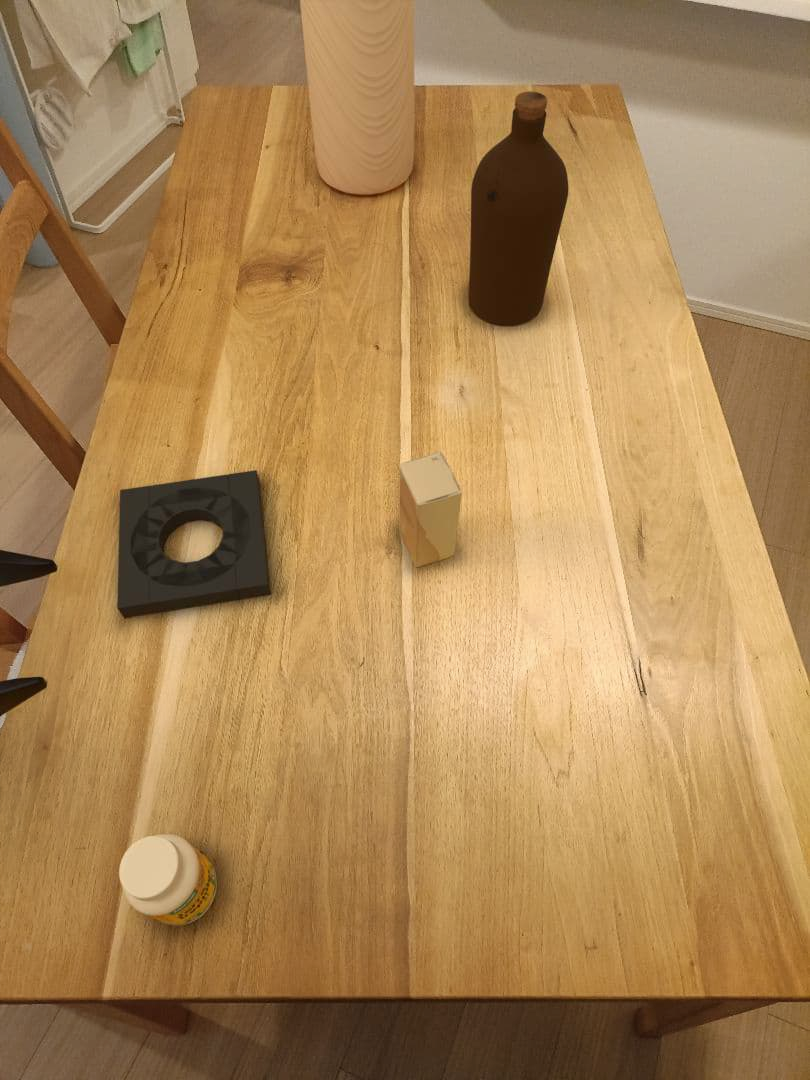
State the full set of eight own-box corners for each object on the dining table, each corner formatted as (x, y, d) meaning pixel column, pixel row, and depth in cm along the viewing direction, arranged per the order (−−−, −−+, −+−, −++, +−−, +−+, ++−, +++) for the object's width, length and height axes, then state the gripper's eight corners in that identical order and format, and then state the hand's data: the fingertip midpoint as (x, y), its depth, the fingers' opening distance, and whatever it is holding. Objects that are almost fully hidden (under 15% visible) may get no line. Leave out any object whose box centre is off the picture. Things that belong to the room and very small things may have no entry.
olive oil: (541, 336, 94) (579, 133, 73) (456, 323, 95) (469, 120, 74) (551, 280, 99) (589, 77, 78) (471, 269, 101) (487, 67, 80)
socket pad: (123, 618, 73) (117, 608, 71) (125, 501, 80) (119, 489, 79) (271, 594, 74) (267, 584, 73) (259, 481, 82) (256, 469, 80)
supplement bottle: (173, 841, 62) (138, 811, 54) (231, 869, 61) (204, 843, 53) (135, 908, 59) (92, 887, 51) (195, 939, 58) (160, 923, 50)
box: (398, 529, 78) (396, 460, 69) (437, 517, 79) (441, 447, 70) (416, 570, 76) (417, 505, 66) (457, 557, 76) (463, 490, 67)
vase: (413, 199, 109) (414, -69, 83) (312, 198, 110) (282, -70, 83) (415, 144, 117) (416, -118, 91) (321, 143, 117) (295, -118, 91)
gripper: (-330, 750, 40) (-19, 703, 42) (-231, 473, 50) (16, 444, 52) (-194, 806, 49) (56, 765, 51) (-133, 562, 60) (74, 535, 61)
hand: (50, 620), depth 54 cm, fingers open, 9 cm apart
